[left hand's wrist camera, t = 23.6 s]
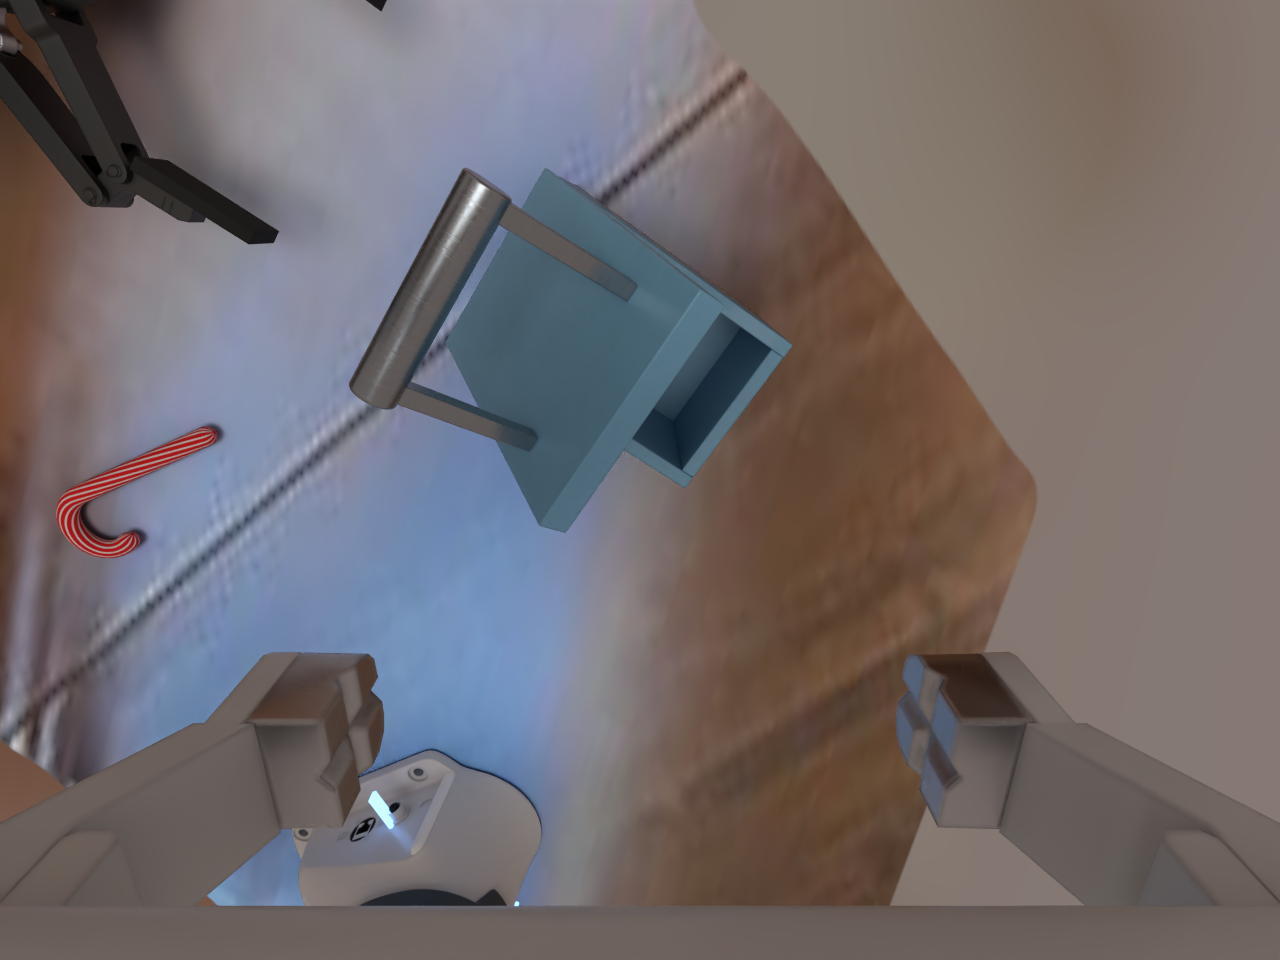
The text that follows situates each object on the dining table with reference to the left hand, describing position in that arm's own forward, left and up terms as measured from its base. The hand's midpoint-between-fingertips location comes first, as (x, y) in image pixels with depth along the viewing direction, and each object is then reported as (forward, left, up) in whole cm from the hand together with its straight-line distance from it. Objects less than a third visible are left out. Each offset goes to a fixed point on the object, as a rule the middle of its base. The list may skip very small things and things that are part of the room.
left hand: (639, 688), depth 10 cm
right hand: (-14, +15, -31) cm, 37 cm away
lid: (-3, +3, -21) cm, 21 cm away
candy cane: (-38, -2, -39) cm, 54 cm away
